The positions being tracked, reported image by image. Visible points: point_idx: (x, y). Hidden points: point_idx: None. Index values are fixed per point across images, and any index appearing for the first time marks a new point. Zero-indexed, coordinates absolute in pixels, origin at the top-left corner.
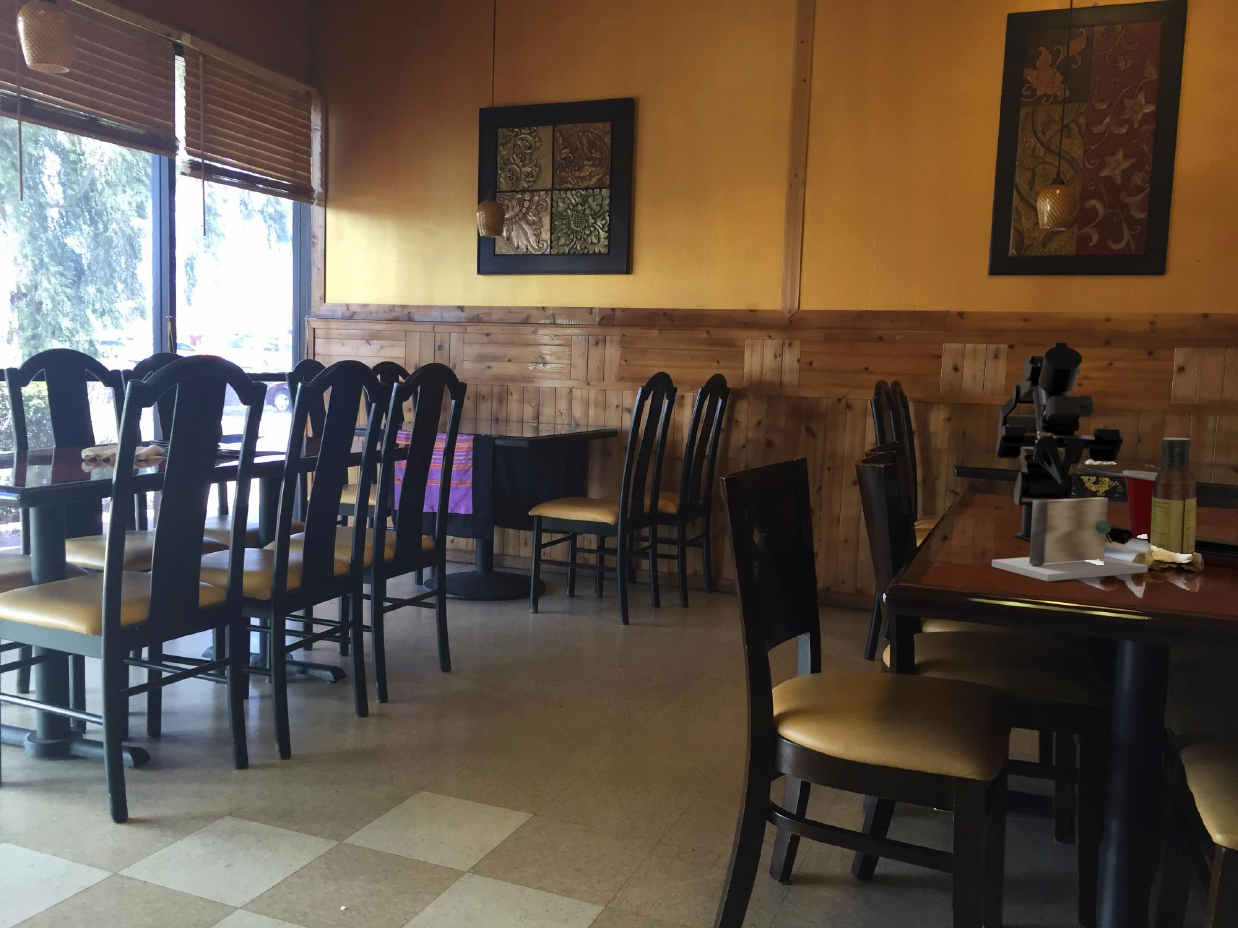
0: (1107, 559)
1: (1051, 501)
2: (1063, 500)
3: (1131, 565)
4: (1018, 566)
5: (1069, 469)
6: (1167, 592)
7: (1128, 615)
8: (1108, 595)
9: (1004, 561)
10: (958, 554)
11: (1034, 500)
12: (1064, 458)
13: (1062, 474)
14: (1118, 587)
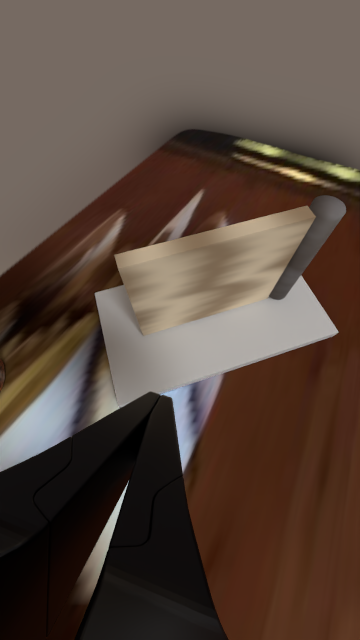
0: (127, 337)
1: (299, 208)
2: (264, 217)
3: (119, 294)
4: (305, 286)
5: (109, 414)
6: (156, 207)
7: (250, 146)
8: (231, 197)
9: (319, 320)
10: None
11: (341, 213)
12: (91, 478)
13: (157, 409)
14: (199, 224)
